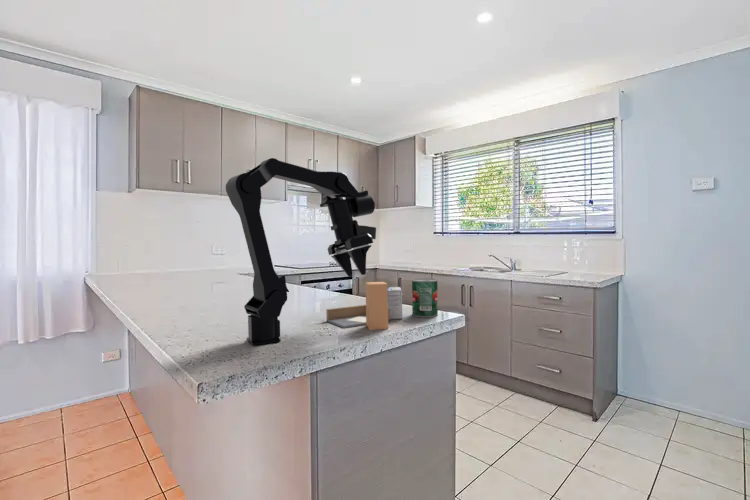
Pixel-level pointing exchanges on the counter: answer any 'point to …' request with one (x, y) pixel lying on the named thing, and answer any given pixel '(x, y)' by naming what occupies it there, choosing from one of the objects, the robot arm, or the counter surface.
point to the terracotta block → (376, 305)
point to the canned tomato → (424, 298)
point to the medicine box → (395, 302)
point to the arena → (348, 316)
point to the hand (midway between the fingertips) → (356, 275)
